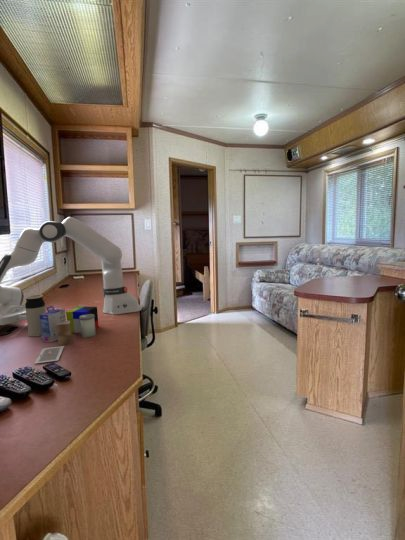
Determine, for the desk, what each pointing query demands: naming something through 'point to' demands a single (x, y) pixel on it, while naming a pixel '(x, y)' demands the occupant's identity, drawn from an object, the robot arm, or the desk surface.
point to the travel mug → (34, 314)
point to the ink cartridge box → (51, 323)
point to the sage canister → (87, 325)
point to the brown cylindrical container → (64, 333)
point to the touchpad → (49, 354)
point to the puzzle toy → (76, 313)
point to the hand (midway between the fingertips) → (28, 317)
